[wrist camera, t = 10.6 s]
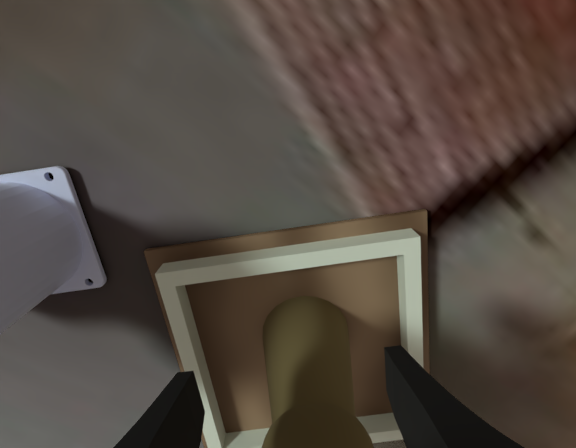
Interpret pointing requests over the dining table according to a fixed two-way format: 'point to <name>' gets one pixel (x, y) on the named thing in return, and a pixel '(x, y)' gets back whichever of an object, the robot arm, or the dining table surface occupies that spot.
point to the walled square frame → (342, 250)
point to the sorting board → (285, 285)
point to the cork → (310, 377)
